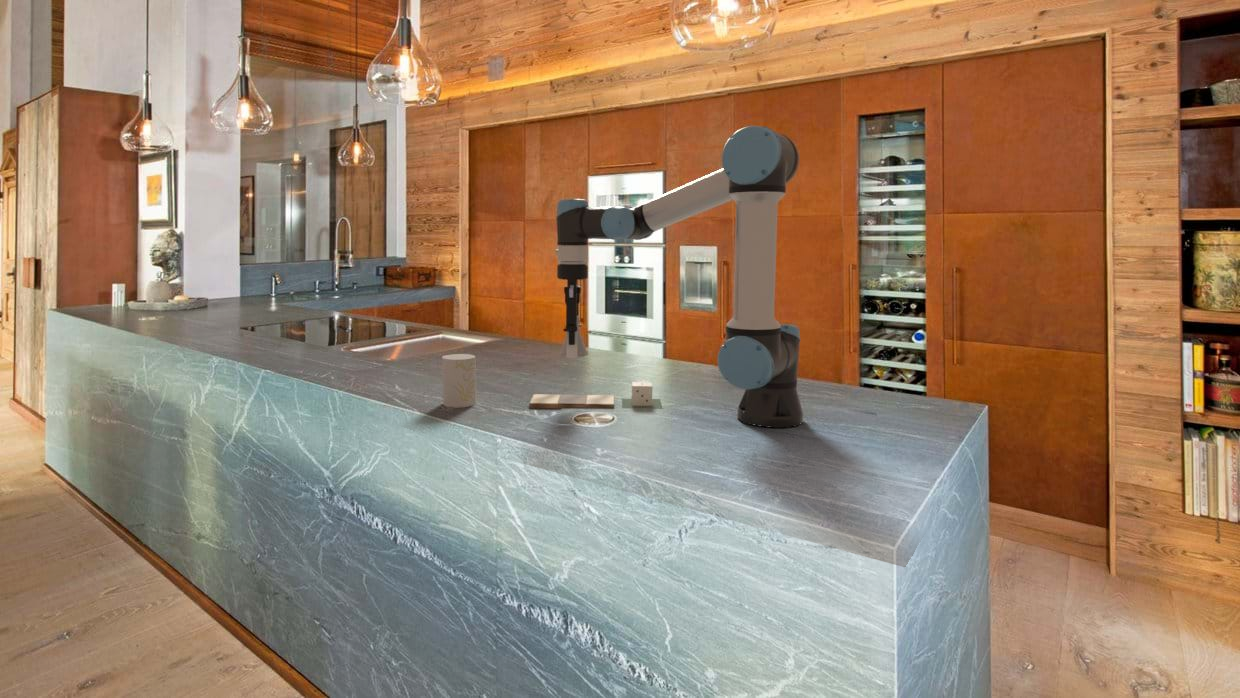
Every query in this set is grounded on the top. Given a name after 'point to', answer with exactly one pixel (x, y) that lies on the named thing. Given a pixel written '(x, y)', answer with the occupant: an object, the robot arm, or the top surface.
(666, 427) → the top surface
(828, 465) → the top surface
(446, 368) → the white upright cylinder
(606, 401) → the board
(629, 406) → the mat
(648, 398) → the die
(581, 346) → the flask
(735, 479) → the top surface
